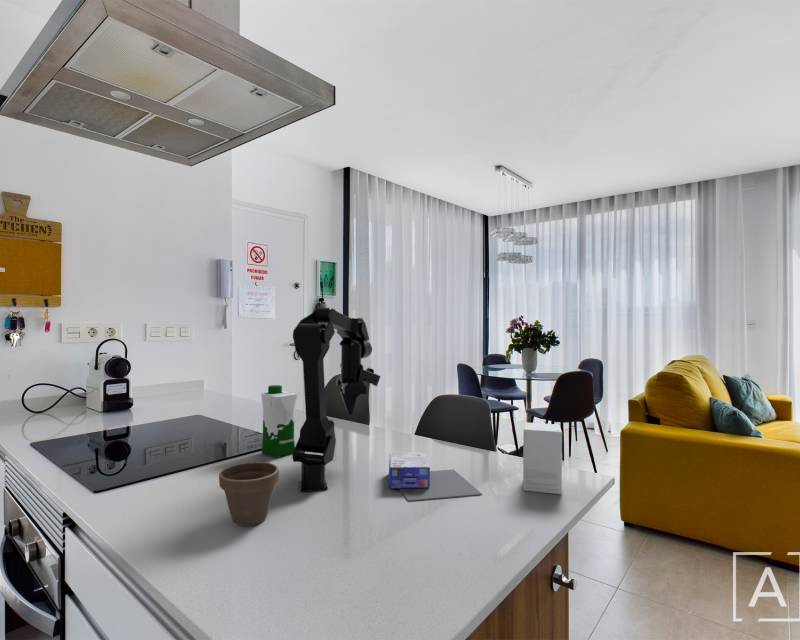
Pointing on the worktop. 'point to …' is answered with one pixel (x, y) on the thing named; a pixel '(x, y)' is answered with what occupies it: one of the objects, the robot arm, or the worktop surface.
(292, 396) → the milk carton
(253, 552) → the worktop surface
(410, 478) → the ink cartridge box
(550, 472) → the supplement box
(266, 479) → the flower pot
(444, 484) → the charcoal mat
